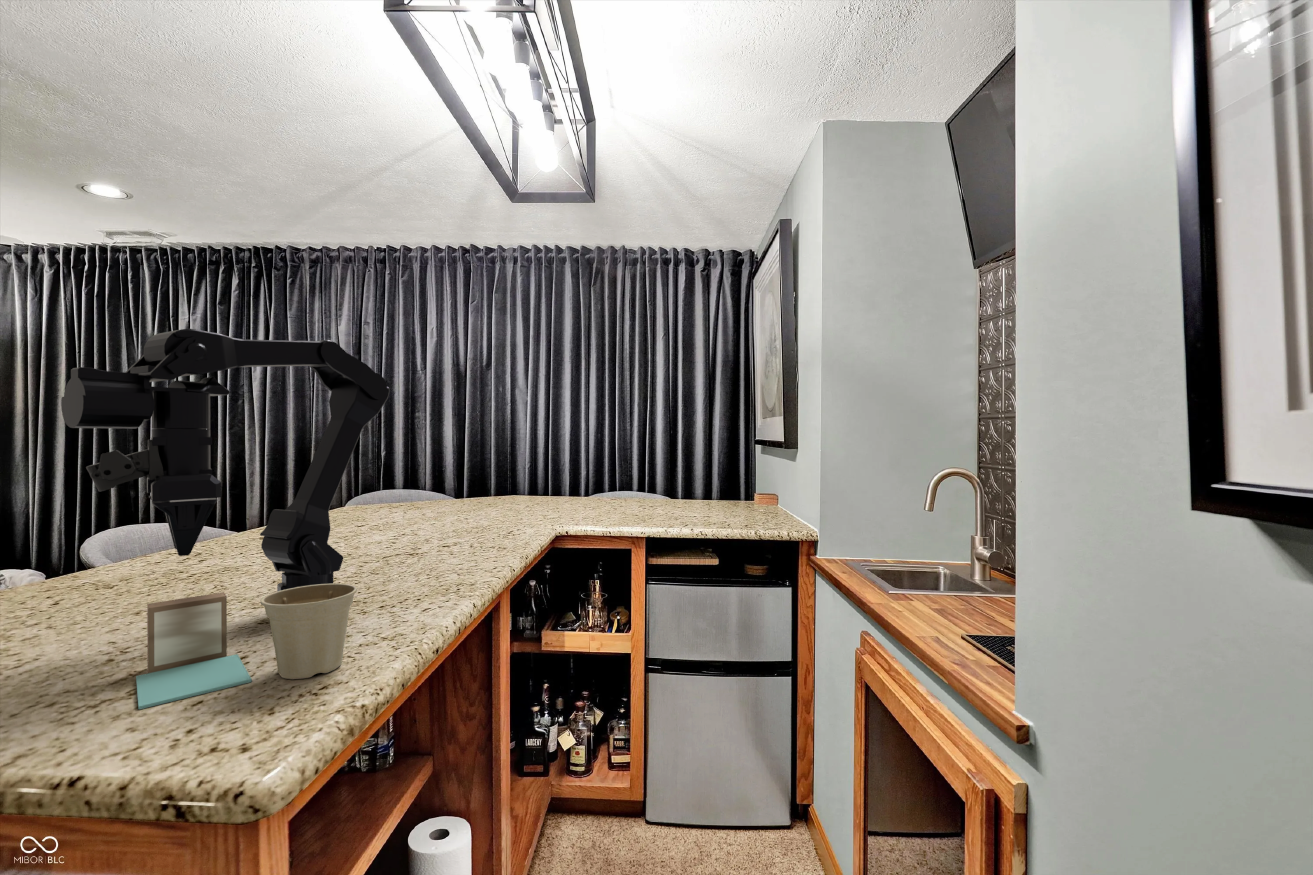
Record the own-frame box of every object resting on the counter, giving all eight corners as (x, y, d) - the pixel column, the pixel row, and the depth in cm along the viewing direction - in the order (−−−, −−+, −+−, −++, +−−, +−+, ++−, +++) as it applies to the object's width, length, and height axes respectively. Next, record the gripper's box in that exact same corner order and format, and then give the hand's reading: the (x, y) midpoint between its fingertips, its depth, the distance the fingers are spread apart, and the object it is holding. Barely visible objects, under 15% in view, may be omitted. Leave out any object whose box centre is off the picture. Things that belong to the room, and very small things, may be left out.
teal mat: (237, 656, 68) (237, 654, 68) (251, 681, 61) (251, 678, 61) (136, 678, 62) (136, 675, 62) (138, 709, 55) (138, 706, 55)
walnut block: (223, 652, 70) (223, 591, 70) (226, 658, 68) (226, 595, 68) (147, 669, 65) (147, 603, 65) (148, 675, 63) (148, 608, 63)
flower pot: (271, 660, 67) (271, 587, 67) (360, 648, 71) (360, 579, 71) (250, 693, 58) (250, 609, 58) (353, 677, 62) (353, 598, 62)
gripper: (94, 430, 73) (95, 551, 73) (88, 427, 59) (89, 575, 59) (204, 430, 81) (205, 540, 81) (221, 428, 67) (222, 559, 67)
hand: (182, 552), depth 72 cm, fingers open, 6 cm apart
